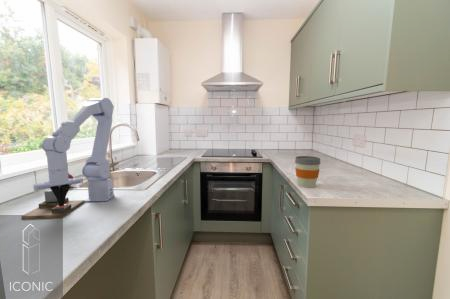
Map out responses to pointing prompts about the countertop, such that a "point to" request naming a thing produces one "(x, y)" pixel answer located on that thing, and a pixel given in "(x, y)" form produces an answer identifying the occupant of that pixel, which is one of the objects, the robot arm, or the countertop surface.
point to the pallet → (52, 210)
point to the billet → (50, 197)
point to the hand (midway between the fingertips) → (61, 205)
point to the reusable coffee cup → (307, 171)
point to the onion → (70, 177)
